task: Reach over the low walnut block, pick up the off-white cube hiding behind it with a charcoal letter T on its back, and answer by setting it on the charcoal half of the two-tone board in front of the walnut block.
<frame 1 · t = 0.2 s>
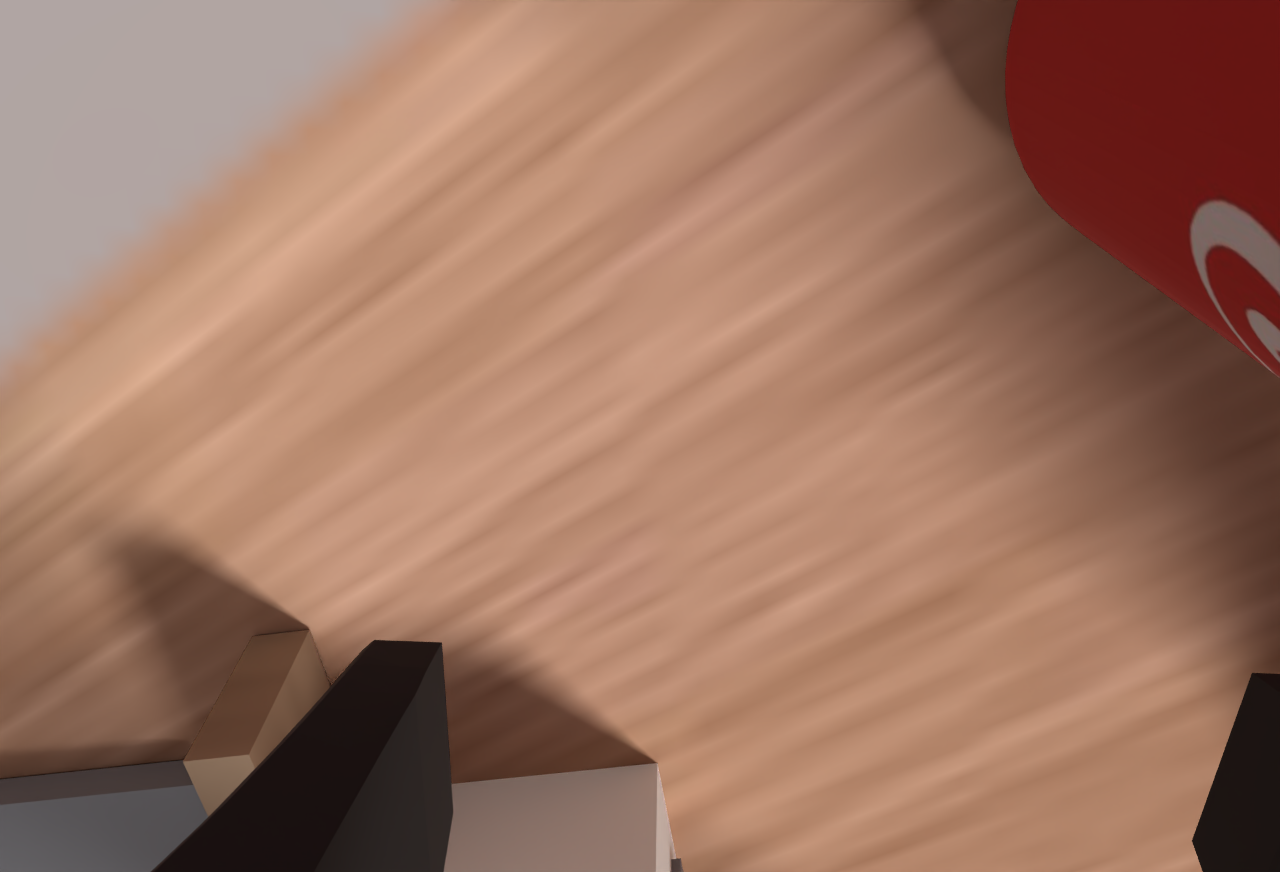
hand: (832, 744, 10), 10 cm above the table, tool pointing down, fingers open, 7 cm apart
beverage can: (1183, 26, 16), on the table
lettered cube: (565, 853, 24), on the table
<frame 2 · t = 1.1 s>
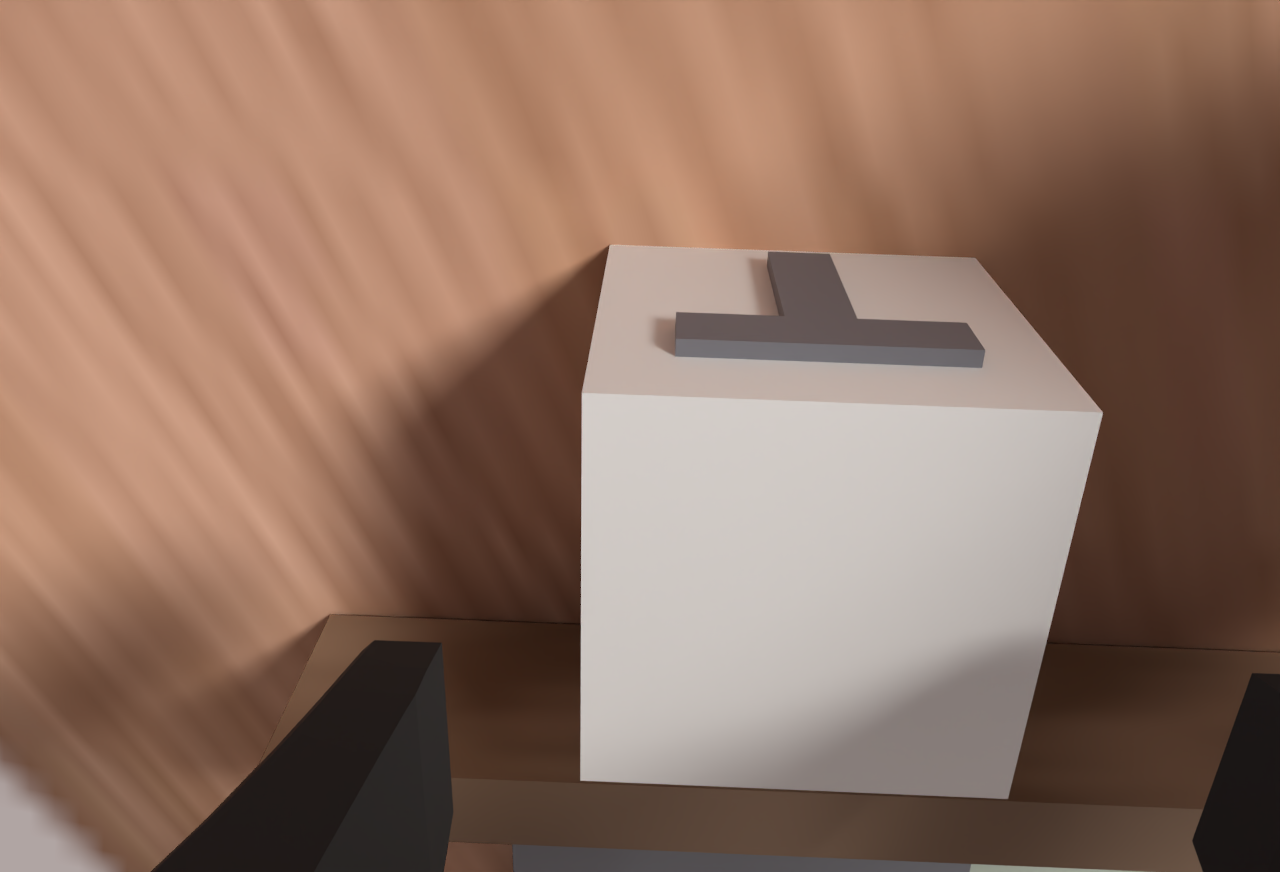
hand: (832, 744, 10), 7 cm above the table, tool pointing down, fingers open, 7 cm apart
walnut block: (934, 668, 18), on the table
lettered cube: (776, 413, 16), on the table
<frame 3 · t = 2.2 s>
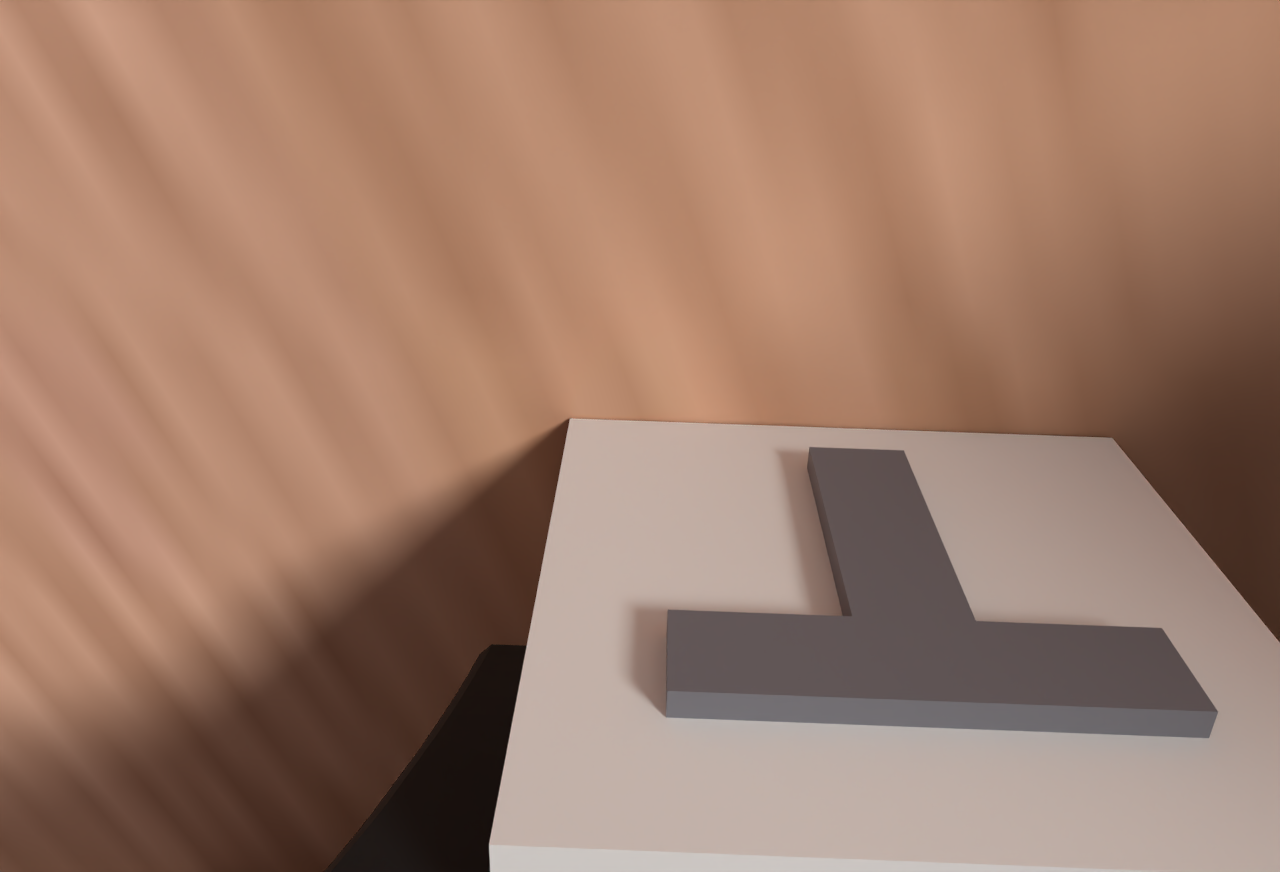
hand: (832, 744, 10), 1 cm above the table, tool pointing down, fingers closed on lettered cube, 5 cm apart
lettered cube: (813, 646, 11), on the table, touching gripper
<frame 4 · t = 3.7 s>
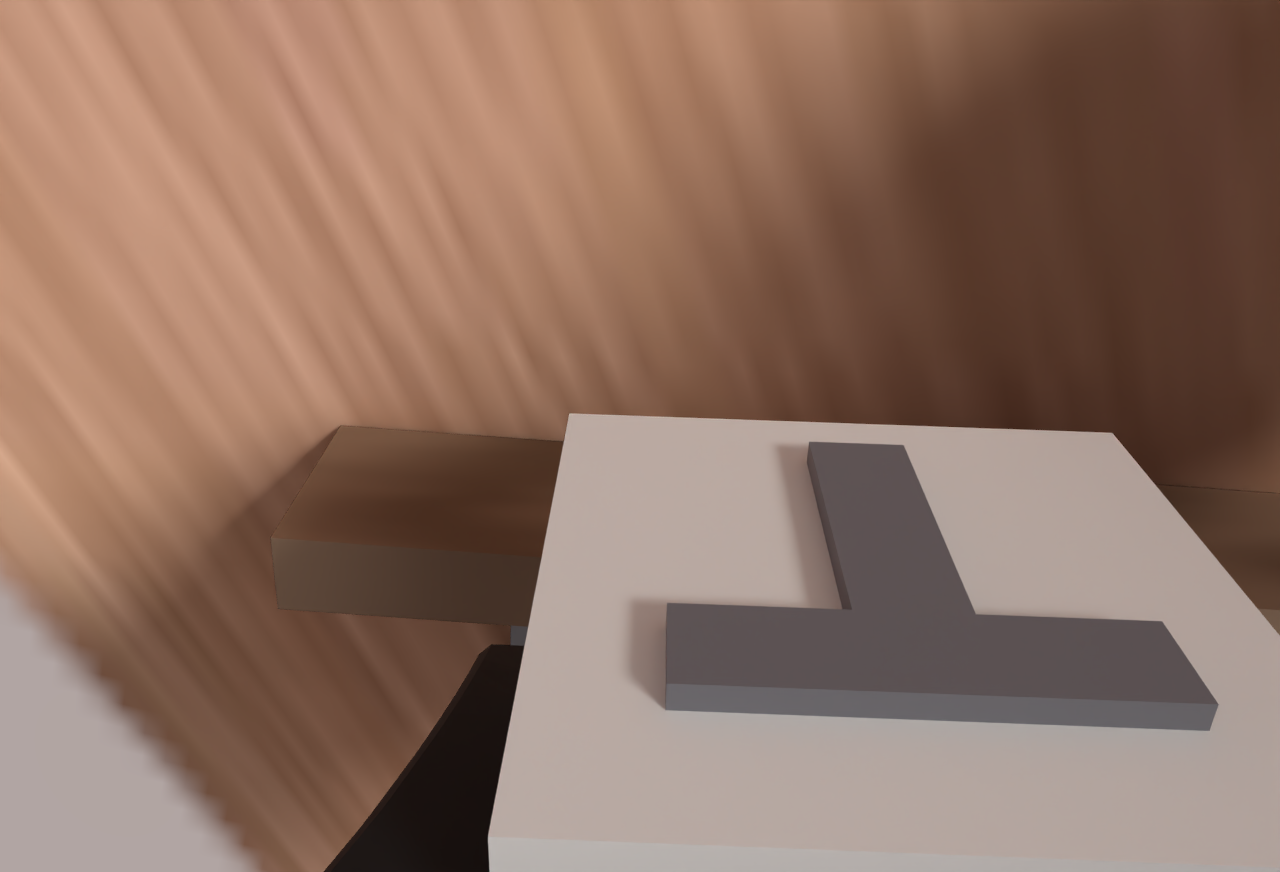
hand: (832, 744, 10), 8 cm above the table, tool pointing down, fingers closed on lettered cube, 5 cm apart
walnut block: (929, 499, 18), on the table
lettered cube: (812, 641, 11), point 7 cm above the table, touching gripper
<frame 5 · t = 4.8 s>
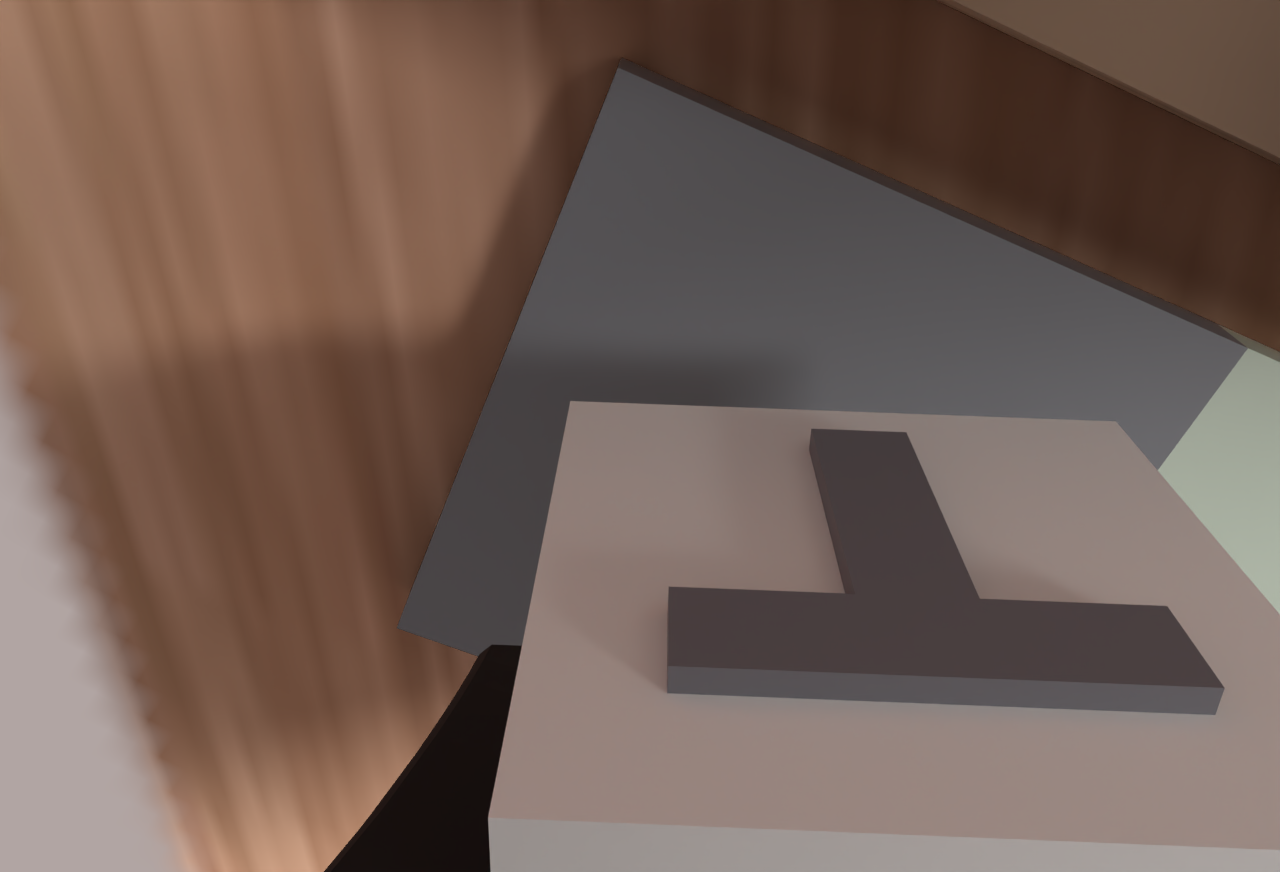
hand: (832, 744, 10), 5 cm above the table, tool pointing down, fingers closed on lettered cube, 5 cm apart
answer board: (1040, 570, 15), on the table
walnut block: (1279, 99, 12), on the table
lettered cube: (814, 632, 11), point 4 cm above the table, touching gripper
when the fingers open (4 cm above the table, at t = 5.6 s): lettered cube drops 1 cm, resting on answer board.
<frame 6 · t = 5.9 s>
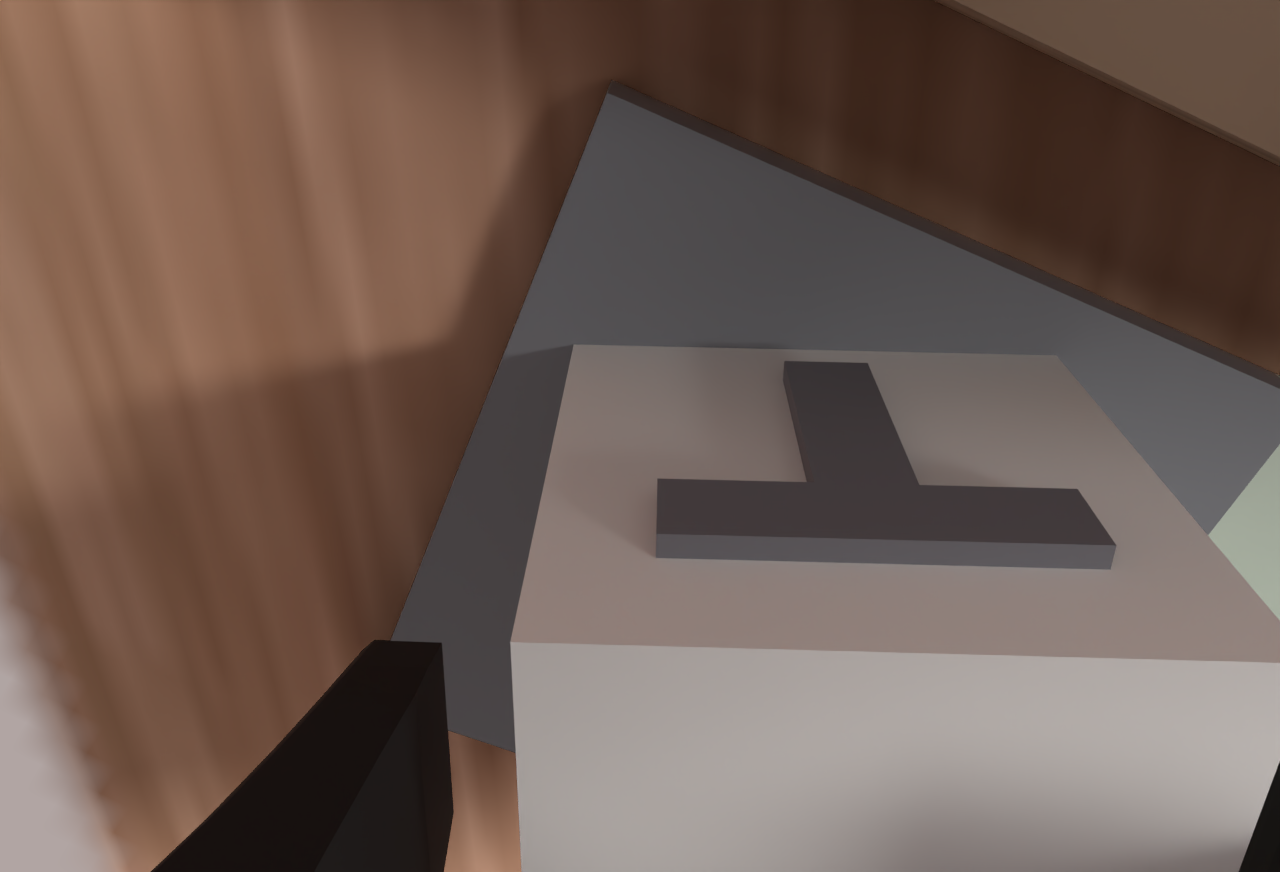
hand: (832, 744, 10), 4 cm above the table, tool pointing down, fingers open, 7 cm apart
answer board: (1073, 637, 14), on the table
lettered cube: (794, 553, 12), point 1 cm above the table, touching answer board
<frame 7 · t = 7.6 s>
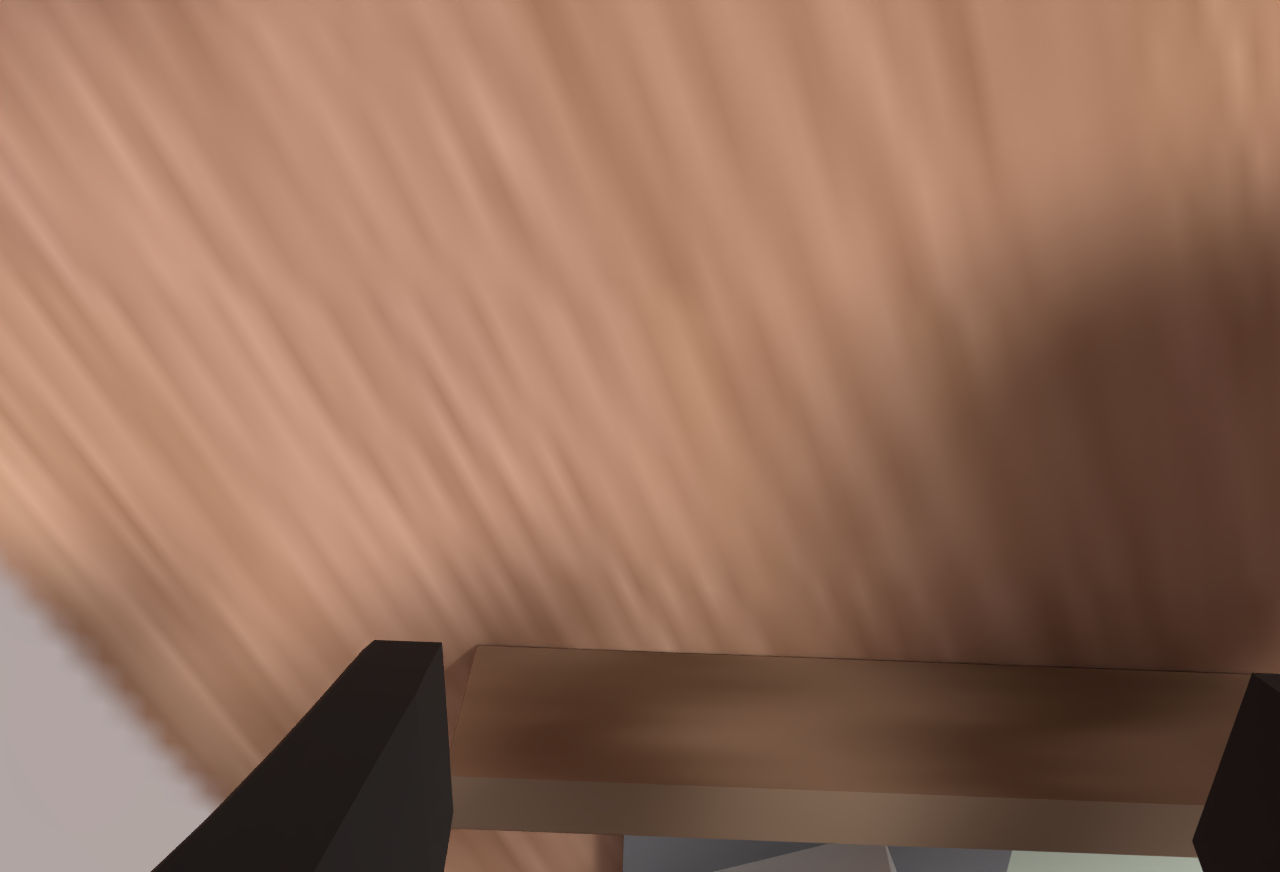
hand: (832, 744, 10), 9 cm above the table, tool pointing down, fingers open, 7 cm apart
walnut block: (982, 688, 21), on the table
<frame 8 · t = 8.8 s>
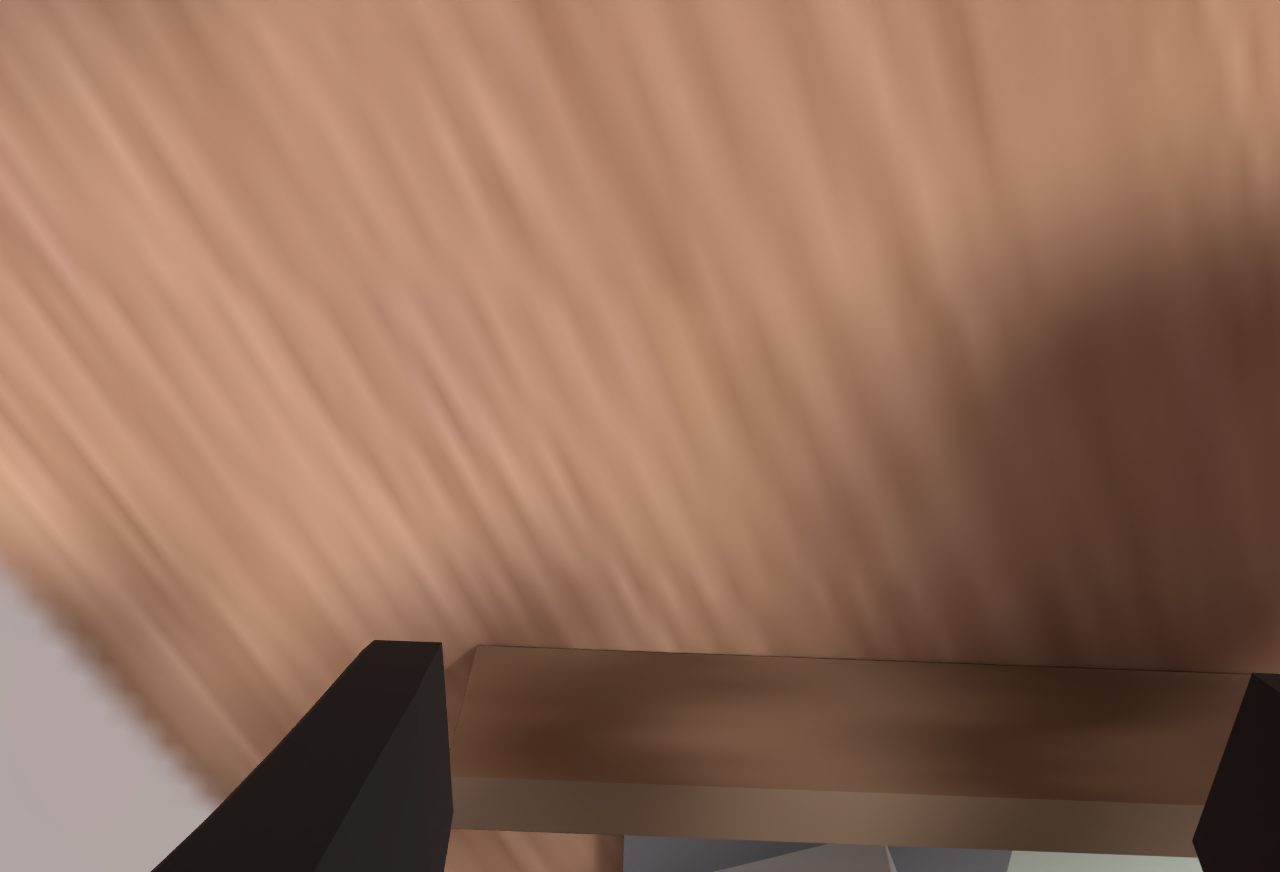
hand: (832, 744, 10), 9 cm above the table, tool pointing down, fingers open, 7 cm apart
walnut block: (982, 688, 21), on the table
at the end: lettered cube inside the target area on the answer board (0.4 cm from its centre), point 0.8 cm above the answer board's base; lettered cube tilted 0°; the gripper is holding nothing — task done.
